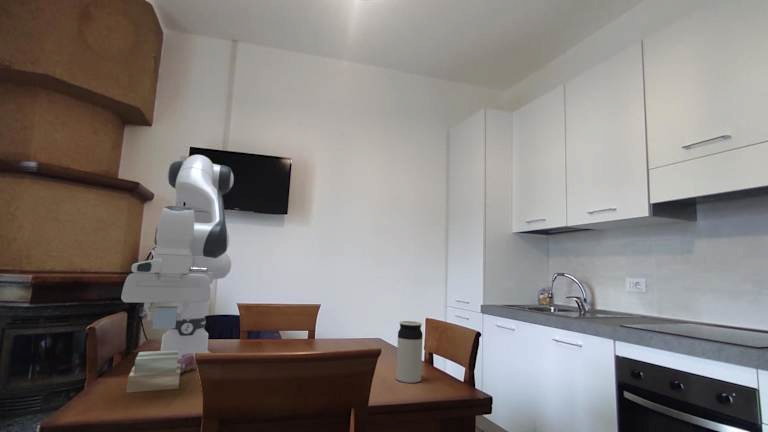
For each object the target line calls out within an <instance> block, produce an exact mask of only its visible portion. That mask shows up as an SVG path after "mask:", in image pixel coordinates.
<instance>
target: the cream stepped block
mask: <svg viewBox="0 0 768 432" xmlns="http://www.w3.org/2000/svg"><path fill="white" fill-rule="evenodd" d="M178 351H179V350H172V351H161V350H152V351H149V350H148V351H139V352H138V354H137V356H136V357H135V360H134V365H133V367H132V368H131V371H130V373H129V375H127V384H126V394H128V393H138V392H151V391H165V390H175V389H176V390H177V389H178V390H179V388H180V387H179V386H180V377H181V374H180V367H181V363H177V361H178Z"/></svg>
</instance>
